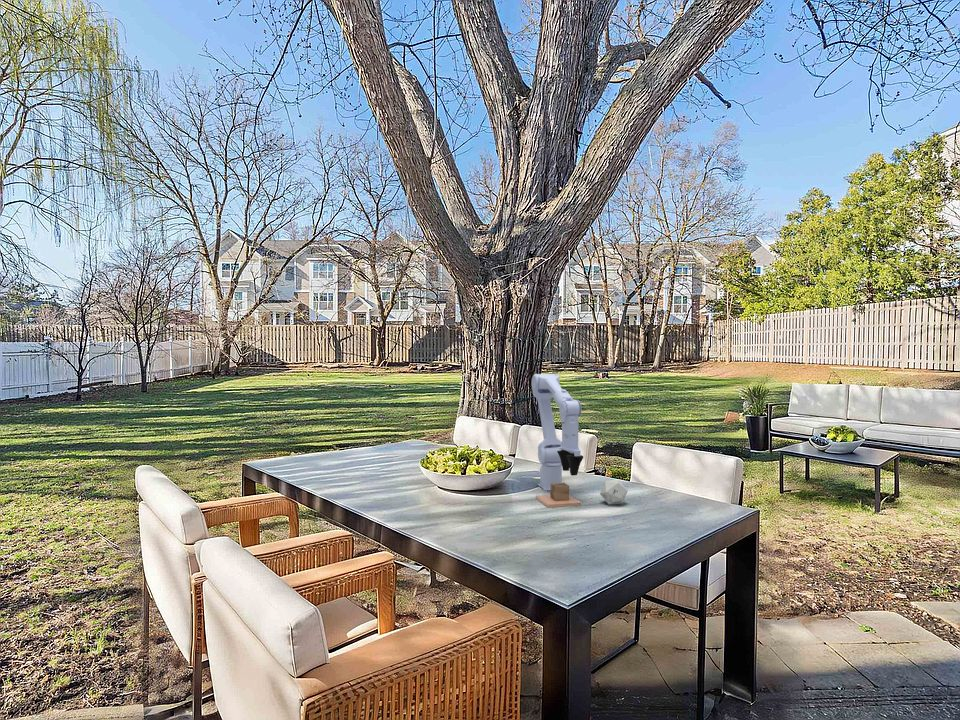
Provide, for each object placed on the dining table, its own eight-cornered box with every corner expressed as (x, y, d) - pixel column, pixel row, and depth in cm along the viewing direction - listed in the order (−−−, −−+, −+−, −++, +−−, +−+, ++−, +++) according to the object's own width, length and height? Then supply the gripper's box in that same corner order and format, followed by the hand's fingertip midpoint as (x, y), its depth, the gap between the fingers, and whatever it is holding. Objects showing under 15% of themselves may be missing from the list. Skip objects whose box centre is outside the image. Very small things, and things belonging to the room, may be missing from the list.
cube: (550, 497, 203) (550, 483, 203) (563, 496, 204) (563, 482, 204) (555, 501, 198) (555, 486, 198) (569, 500, 200) (569, 485, 199)
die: (595, 504, 200) (603, 486, 194) (601, 487, 207) (609, 469, 201) (618, 514, 198) (626, 496, 193) (623, 497, 205) (632, 479, 199)
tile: (536, 498, 206) (536, 495, 206) (567, 496, 209) (567, 493, 209) (547, 507, 194) (547, 504, 194) (581, 505, 197) (581, 502, 197)
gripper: (552, 431, 211) (552, 468, 211) (566, 438, 196) (566, 478, 197) (570, 431, 212) (570, 468, 212) (586, 437, 198) (586, 477, 198)
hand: (569, 472), depth 205 cm, fingers open, 7 cm apart
